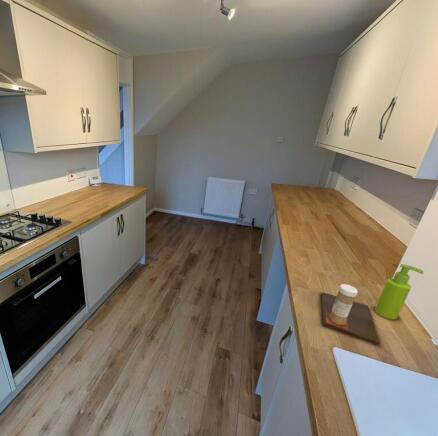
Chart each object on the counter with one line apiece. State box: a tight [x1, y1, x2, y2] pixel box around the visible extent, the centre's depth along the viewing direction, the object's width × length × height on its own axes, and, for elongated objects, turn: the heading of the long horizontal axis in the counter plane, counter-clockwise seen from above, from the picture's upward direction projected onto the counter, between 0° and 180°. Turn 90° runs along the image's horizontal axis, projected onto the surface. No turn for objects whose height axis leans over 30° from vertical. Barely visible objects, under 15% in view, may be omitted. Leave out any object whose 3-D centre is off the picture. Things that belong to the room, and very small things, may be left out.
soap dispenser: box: [374, 263, 425, 320], centre depth 82 cm, size 6×7×20 cm
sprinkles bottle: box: [329, 283, 358, 325], centre depth 79 cm, size 5×5×14 cm
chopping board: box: [321, 291, 380, 346], centre depth 84 cm, size 20×14×1 cm
